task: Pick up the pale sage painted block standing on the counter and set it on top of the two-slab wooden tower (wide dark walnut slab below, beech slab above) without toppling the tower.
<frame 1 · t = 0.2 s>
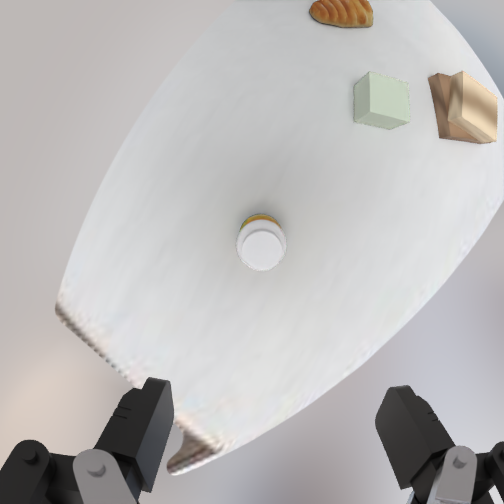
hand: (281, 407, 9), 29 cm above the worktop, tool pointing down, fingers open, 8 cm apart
supplement bottle: (260, 234, 37), on the worktop
sage block: (372, 107, 32), on the worktop
pastry: (342, 16, 29), on the worktop
block top: (467, 109, 28), point 3 cm above the worktop, touching block bottom
block bottom: (454, 111, 32), on the worktop, touching block top
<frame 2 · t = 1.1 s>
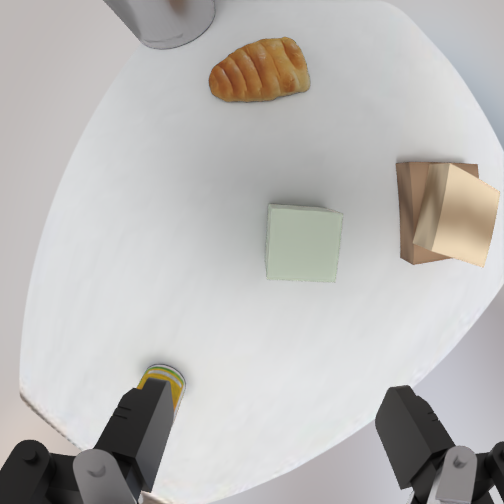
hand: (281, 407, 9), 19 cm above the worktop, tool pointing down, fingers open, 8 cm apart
supplement bottle: (165, 379, 32), on the worktop
sage block: (295, 234, 27), on the worktop
pastry: (264, 77, 24), on the worktop
block top: (450, 214, 23), point 3 cm above the worktop, touching block bottom
block bottom: (432, 208, 27), on the worktop, touching block top
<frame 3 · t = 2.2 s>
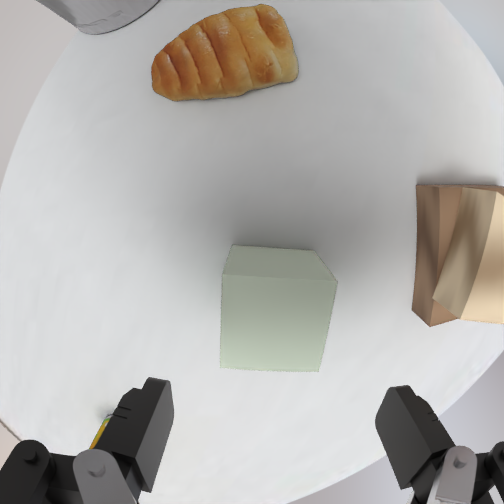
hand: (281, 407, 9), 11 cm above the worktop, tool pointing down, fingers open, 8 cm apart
sage block: (269, 285, 20), on the worktop
pastry: (232, 62, 16), on the worktop
block top: (482, 254, 16), point 3 cm above the worktop, touching block bottom
block bottom: (458, 243, 19), on the worktop, touching block top
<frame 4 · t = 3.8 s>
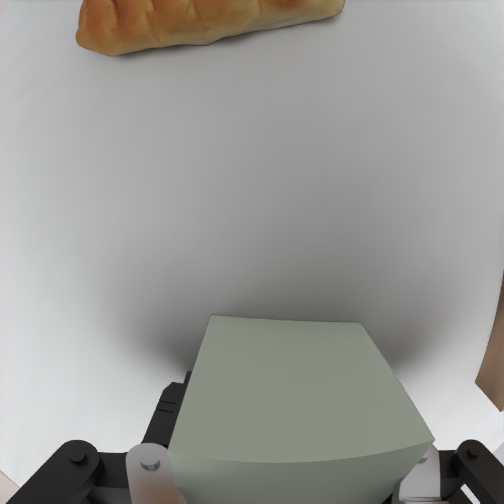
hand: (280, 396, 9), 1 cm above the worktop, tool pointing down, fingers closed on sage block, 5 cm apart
sage block: (279, 379, 10), on the worktop, touching gripper
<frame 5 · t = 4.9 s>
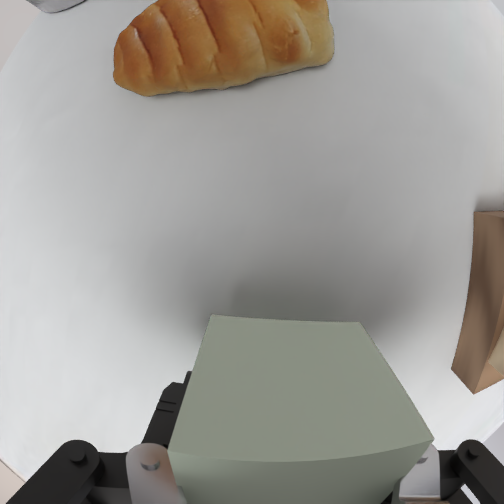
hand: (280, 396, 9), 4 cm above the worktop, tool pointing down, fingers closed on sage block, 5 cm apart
sage block: (279, 378, 10), point 3 cm above the worktop, touching gripper
pastry: (233, 40, 10), on the worktop
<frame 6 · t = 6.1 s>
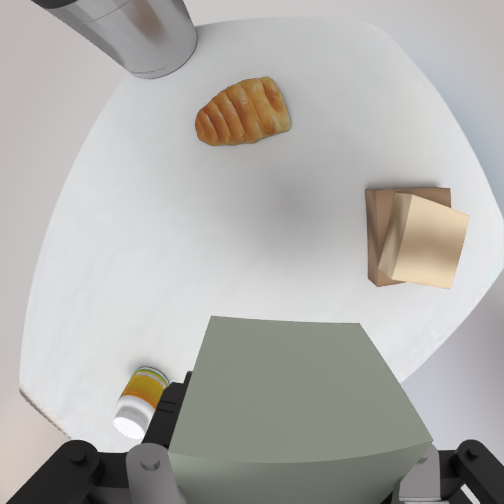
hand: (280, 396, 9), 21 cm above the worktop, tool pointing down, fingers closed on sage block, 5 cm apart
supplement bottle: (152, 380, 35), on the worktop
sage block: (279, 379, 10), point 20 cm above the worktop, touching gripper
pastry: (247, 117, 27), on the worktop
block top: (417, 238, 26), point 3 cm above the worktop, touching block bottom
block bottom: (403, 230, 30), on the worktop, touching block top
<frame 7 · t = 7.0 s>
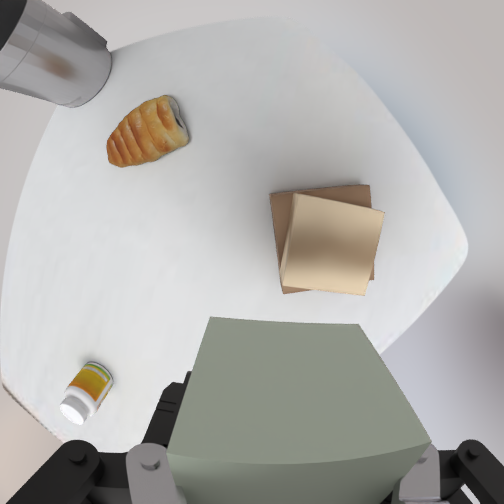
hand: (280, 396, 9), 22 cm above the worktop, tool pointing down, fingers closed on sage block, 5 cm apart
supplement bottle: (99, 374, 36), on the worktop
sage block: (278, 380, 10), point 21 cm above the worktop, touching gripper
pastry: (153, 135, 28), on the worktop
block top: (325, 240, 27), point 3 cm above the worktop, touching block bottom
block bottom: (319, 233, 31), on the worktop, touching block top
when the fingers open (9 cm above the worktop, at t = 12.2 s): sage block drops 1 cm, resting on block top.
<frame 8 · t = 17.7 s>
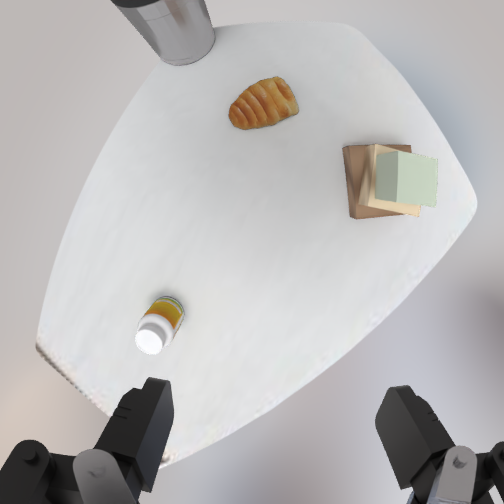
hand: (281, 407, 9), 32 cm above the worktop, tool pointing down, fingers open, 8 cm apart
supplement bottle: (168, 311, 43), on the worktop
sage block: (394, 179, 31), point 6 cm above the worktop, touching block top
pastry: (265, 107, 36), on the worktop
block top: (387, 181, 35), point 3 cm above the worktop, touching block bottom, sage block
block bottom: (375, 180, 38), on the worktop, touching block top
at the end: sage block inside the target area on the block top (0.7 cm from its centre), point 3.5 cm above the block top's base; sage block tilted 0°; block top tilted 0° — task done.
